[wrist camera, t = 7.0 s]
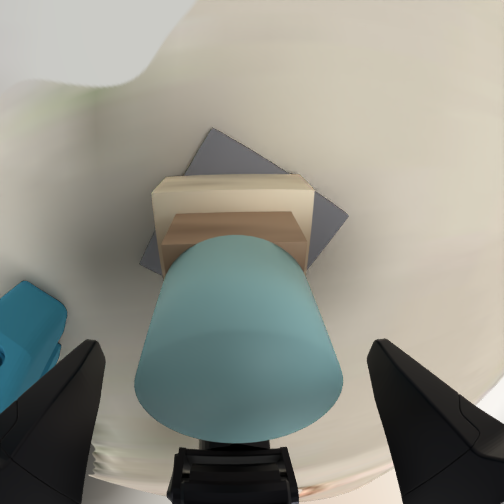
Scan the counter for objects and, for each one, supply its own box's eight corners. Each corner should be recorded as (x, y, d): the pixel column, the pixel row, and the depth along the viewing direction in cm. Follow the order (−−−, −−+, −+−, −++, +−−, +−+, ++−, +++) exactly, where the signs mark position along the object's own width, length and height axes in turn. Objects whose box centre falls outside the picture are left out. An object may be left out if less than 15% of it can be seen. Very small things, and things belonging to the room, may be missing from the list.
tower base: (291, 285, 18) (300, 317, 15) (178, 288, 18) (171, 320, 15) (299, 174, 15) (314, 190, 12) (165, 177, 14) (150, 193, 12)
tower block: (284, 303, 15) (294, 344, 12) (187, 305, 15) (179, 347, 12) (291, 211, 12) (307, 241, 10) (176, 213, 12) (161, 244, 10)
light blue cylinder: (310, 339, 12) (336, 427, 8) (186, 358, 12) (177, 446, 8) (302, 221, 10) (349, 307, 6) (141, 250, 10) (96, 342, 6)
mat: (262, 316, 20) (263, 322, 19) (141, 259, 17) (139, 264, 17) (345, 212, 17) (348, 216, 16) (212, 127, 14) (211, 128, 13)
